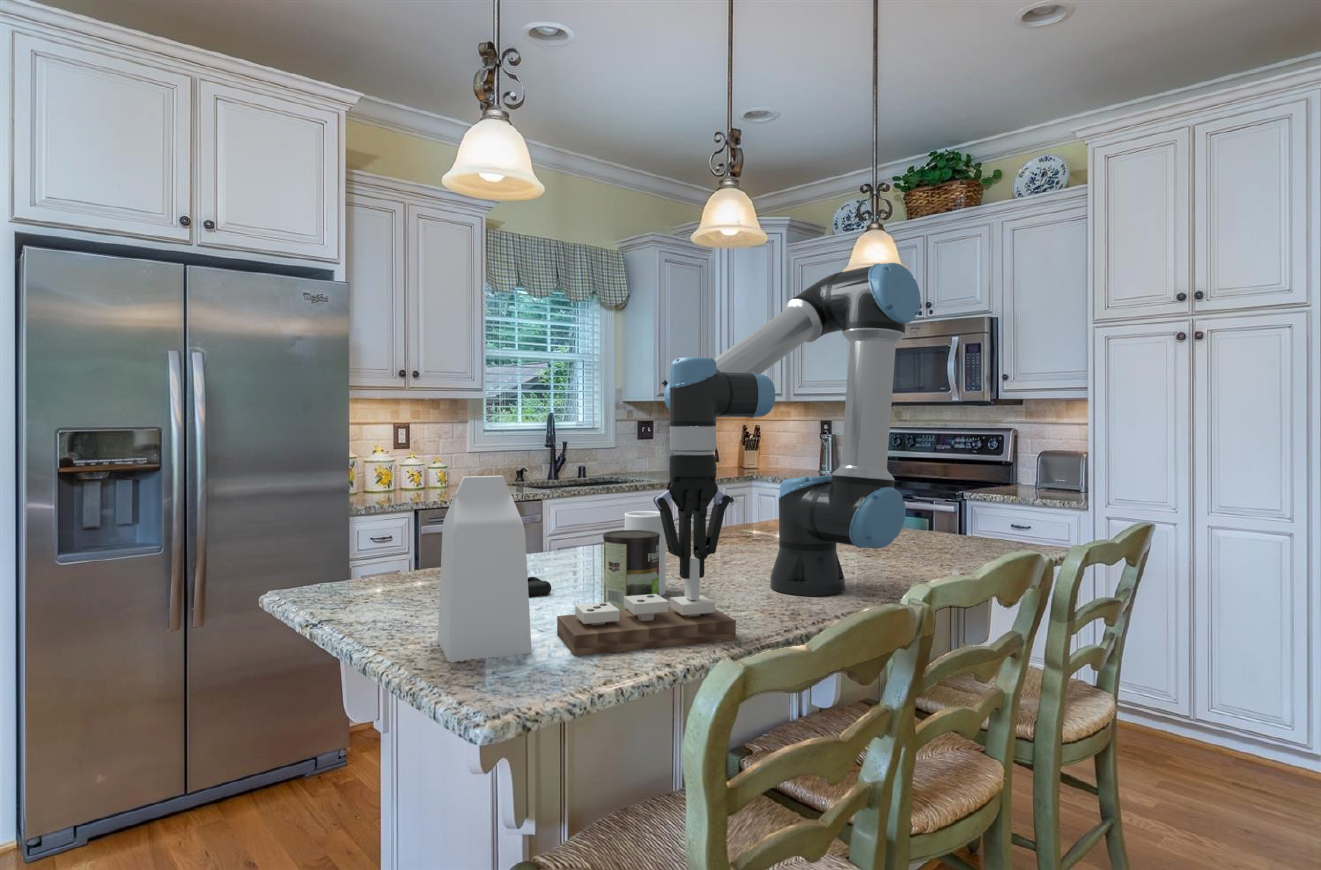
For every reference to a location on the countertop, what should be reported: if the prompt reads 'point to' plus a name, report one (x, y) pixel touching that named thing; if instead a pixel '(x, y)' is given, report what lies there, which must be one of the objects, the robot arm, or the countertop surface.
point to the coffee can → (630, 565)
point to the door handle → (538, 587)
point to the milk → (483, 574)
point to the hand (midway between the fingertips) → (691, 597)
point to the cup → (653, 523)
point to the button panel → (644, 631)
